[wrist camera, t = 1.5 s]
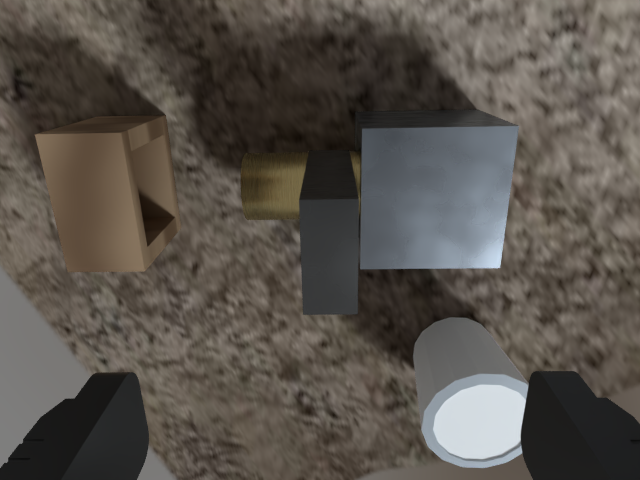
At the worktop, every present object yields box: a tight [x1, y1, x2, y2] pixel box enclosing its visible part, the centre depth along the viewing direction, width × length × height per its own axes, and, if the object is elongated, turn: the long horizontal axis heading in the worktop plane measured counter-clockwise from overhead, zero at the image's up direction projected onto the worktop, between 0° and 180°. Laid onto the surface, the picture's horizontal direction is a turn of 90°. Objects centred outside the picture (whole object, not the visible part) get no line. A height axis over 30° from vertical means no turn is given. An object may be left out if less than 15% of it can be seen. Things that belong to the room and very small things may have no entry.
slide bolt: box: [241, 150, 361, 315], centre depth 22 cm, size 13×4×12 cm, turn 91°
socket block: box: [35, 115, 181, 272], centre depth 26 cm, size 4×7×6 cm, turn 1°
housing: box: [355, 109, 519, 269], centre depth 26 cm, size 7×7×6 cm
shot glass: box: [413, 317, 529, 468], centre depth 30 cm, size 7×7×7 cm
